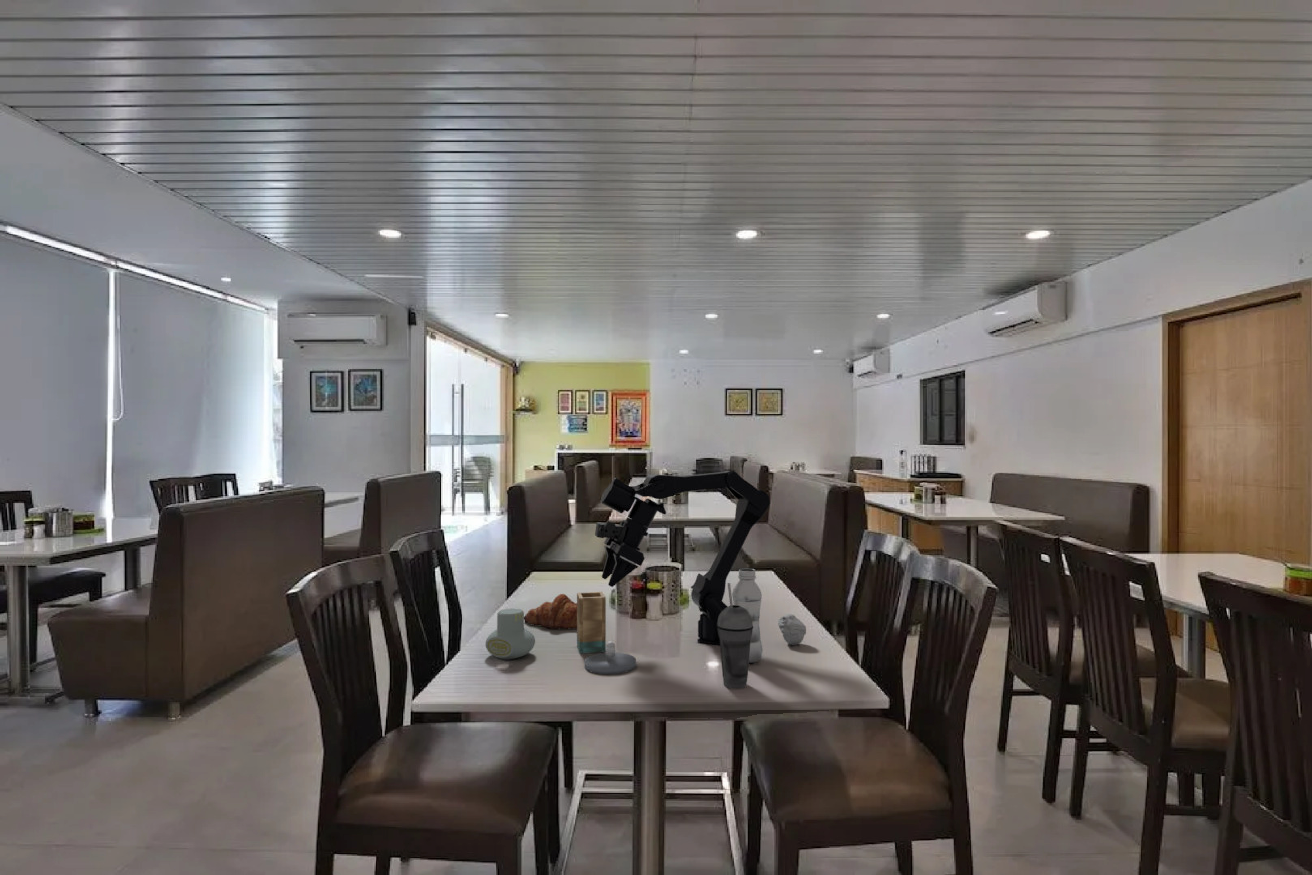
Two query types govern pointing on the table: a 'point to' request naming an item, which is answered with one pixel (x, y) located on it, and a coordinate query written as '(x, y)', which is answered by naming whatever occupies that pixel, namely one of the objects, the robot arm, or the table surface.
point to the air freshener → (510, 636)
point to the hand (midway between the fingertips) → (606, 582)
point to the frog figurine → (792, 629)
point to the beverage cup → (734, 644)
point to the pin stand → (610, 661)
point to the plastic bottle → (750, 608)
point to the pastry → (554, 614)
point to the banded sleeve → (591, 622)
